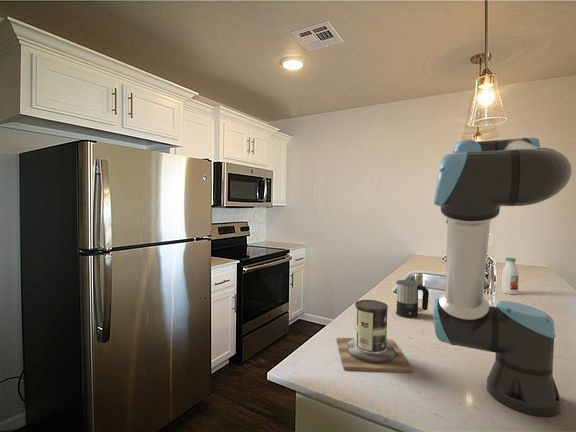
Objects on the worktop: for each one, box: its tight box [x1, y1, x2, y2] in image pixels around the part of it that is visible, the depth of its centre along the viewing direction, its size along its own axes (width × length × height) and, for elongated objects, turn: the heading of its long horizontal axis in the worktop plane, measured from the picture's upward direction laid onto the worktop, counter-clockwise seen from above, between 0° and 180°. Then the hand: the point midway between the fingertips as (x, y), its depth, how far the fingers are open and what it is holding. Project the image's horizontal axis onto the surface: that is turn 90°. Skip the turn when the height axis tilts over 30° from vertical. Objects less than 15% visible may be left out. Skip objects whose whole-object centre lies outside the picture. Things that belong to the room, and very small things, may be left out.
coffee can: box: [354, 299, 389, 354], centre depth 101 cm, size 10×10×14 cm
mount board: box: [336, 337, 414, 373], centre depth 101 cm, size 20×20×2 cm
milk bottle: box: [500, 257, 519, 295], centre depth 176 cm, size 8×8×20 cm
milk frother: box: [395, 279, 430, 319], centre depth 143 cm, size 14×16×15 cm
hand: (462, 245), depth 110 cm, fingers open, 13 cm apart
